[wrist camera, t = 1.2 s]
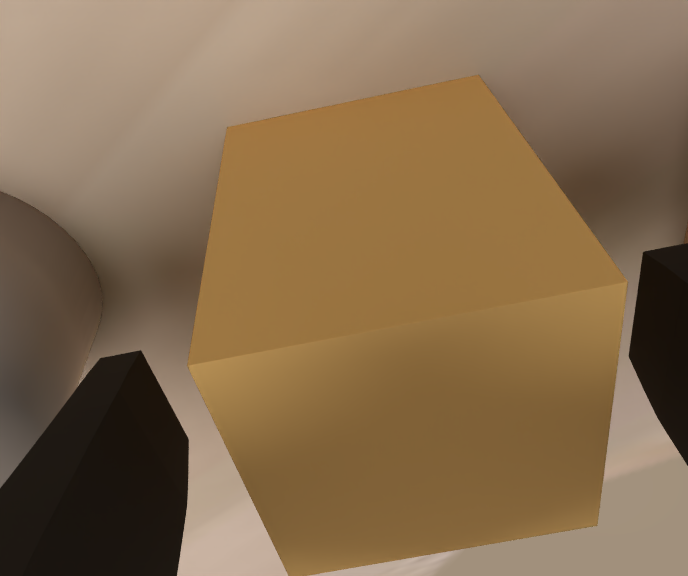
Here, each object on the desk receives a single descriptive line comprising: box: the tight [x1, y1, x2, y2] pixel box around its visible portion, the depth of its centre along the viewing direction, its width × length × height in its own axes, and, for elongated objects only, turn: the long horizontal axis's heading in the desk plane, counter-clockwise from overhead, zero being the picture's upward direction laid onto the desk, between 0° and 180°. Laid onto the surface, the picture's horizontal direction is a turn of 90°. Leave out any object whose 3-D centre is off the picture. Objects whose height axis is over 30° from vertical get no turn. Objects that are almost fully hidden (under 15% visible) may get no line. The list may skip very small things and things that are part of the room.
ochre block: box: [187, 75, 628, 576], centre depth 10 cm, size 4×4×6 cm
